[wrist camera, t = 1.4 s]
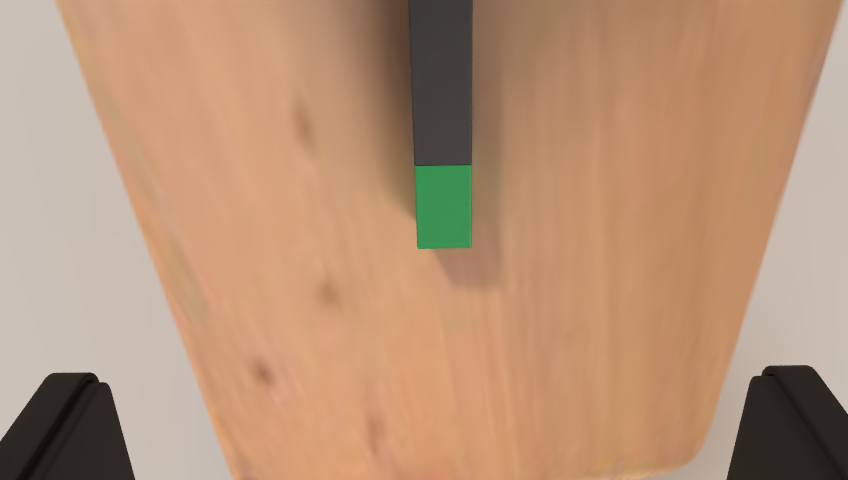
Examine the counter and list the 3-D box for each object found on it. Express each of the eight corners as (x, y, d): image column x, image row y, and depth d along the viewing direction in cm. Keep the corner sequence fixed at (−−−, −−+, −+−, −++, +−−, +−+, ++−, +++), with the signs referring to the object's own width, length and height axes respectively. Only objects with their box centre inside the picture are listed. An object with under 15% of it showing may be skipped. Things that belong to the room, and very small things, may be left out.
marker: (407, -101, 28) (405, -96, 26) (470, -103, 28) (473, -98, 26) (418, 224, 35) (417, 249, 33) (469, 223, 35) (471, 248, 33)
